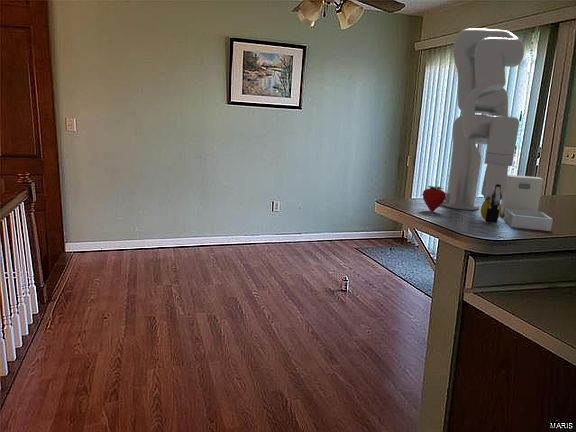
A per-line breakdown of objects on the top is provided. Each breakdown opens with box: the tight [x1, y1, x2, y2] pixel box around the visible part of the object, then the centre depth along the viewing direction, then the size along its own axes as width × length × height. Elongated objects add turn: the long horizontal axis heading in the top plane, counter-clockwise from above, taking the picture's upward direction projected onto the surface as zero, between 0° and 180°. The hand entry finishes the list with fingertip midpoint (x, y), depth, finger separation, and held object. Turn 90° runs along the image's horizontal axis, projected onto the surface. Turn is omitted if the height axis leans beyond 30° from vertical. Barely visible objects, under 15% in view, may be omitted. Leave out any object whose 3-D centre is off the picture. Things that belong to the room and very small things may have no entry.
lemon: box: [480, 197, 501, 224], centre depth 138 cm, size 6×6×8 cm
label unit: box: [499, 174, 544, 219], centre depth 149 cm, size 11×7×13 cm, turn 76°
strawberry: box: [422, 180, 446, 212], centre depth 151 cm, size 6×8×10 cm
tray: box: [503, 209, 554, 232], centre depth 139 cm, size 11×11×4 cm
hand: (489, 219), depth 138 cm, fingers closed on lemon, 5 cm apart
